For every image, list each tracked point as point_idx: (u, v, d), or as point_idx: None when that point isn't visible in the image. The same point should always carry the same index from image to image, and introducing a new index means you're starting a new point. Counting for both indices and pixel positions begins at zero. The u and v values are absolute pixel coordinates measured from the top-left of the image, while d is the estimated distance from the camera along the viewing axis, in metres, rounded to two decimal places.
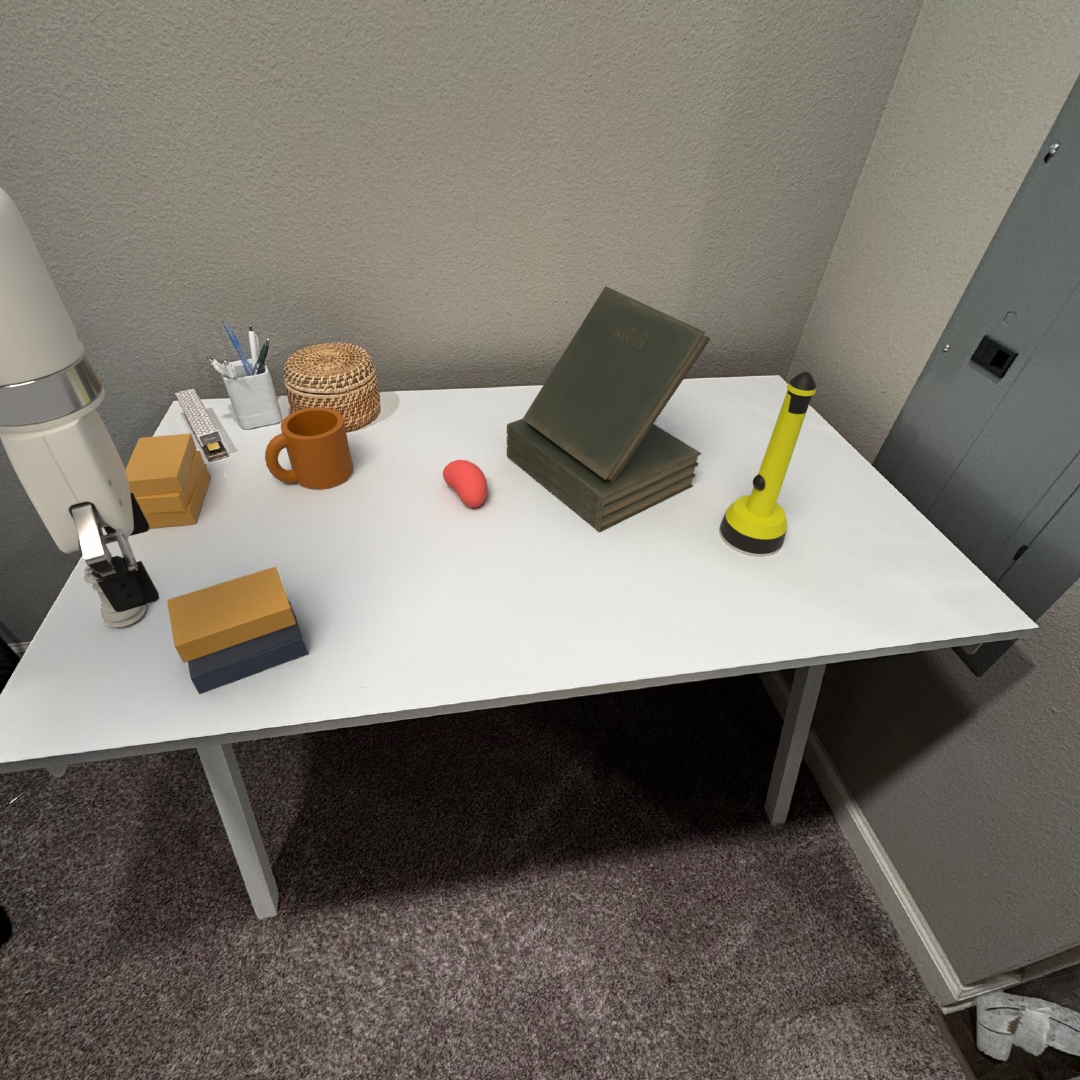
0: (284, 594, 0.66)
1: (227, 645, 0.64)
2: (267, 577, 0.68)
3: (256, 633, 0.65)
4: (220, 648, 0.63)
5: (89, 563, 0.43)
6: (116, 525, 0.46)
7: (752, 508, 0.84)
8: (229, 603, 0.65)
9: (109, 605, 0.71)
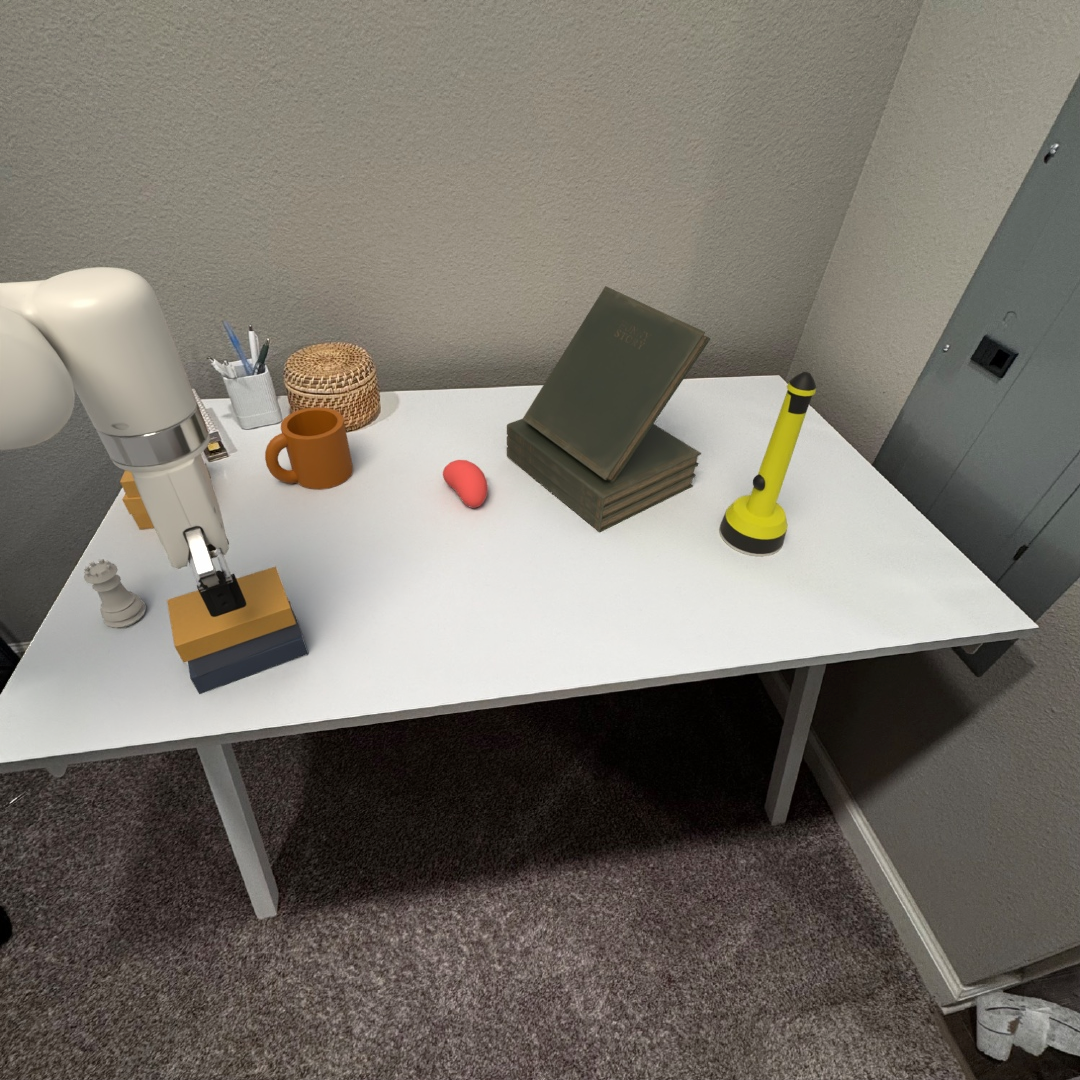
0: (284, 594, 0.66)
1: (227, 645, 0.64)
2: (267, 577, 0.68)
3: (256, 633, 0.65)
4: (220, 648, 0.63)
5: (202, 577, 0.52)
6: (218, 544, 0.55)
7: (752, 508, 0.84)
8: None
9: (109, 605, 0.71)
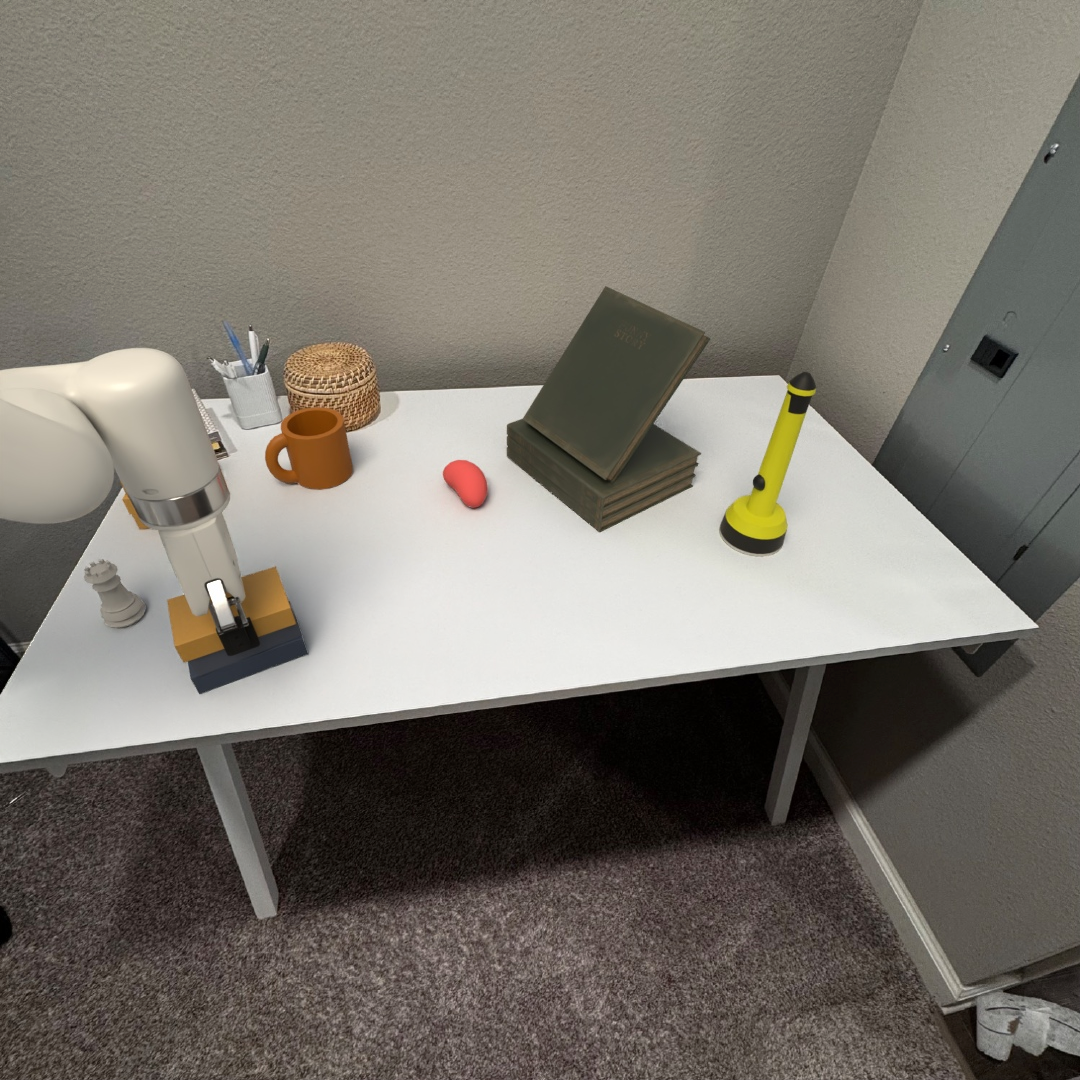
0: (284, 594, 0.66)
1: None
2: (267, 577, 0.68)
3: (256, 633, 0.65)
4: (220, 648, 0.63)
5: (224, 630, 0.57)
6: (236, 594, 0.59)
7: (752, 508, 0.84)
8: None
9: (109, 605, 0.71)
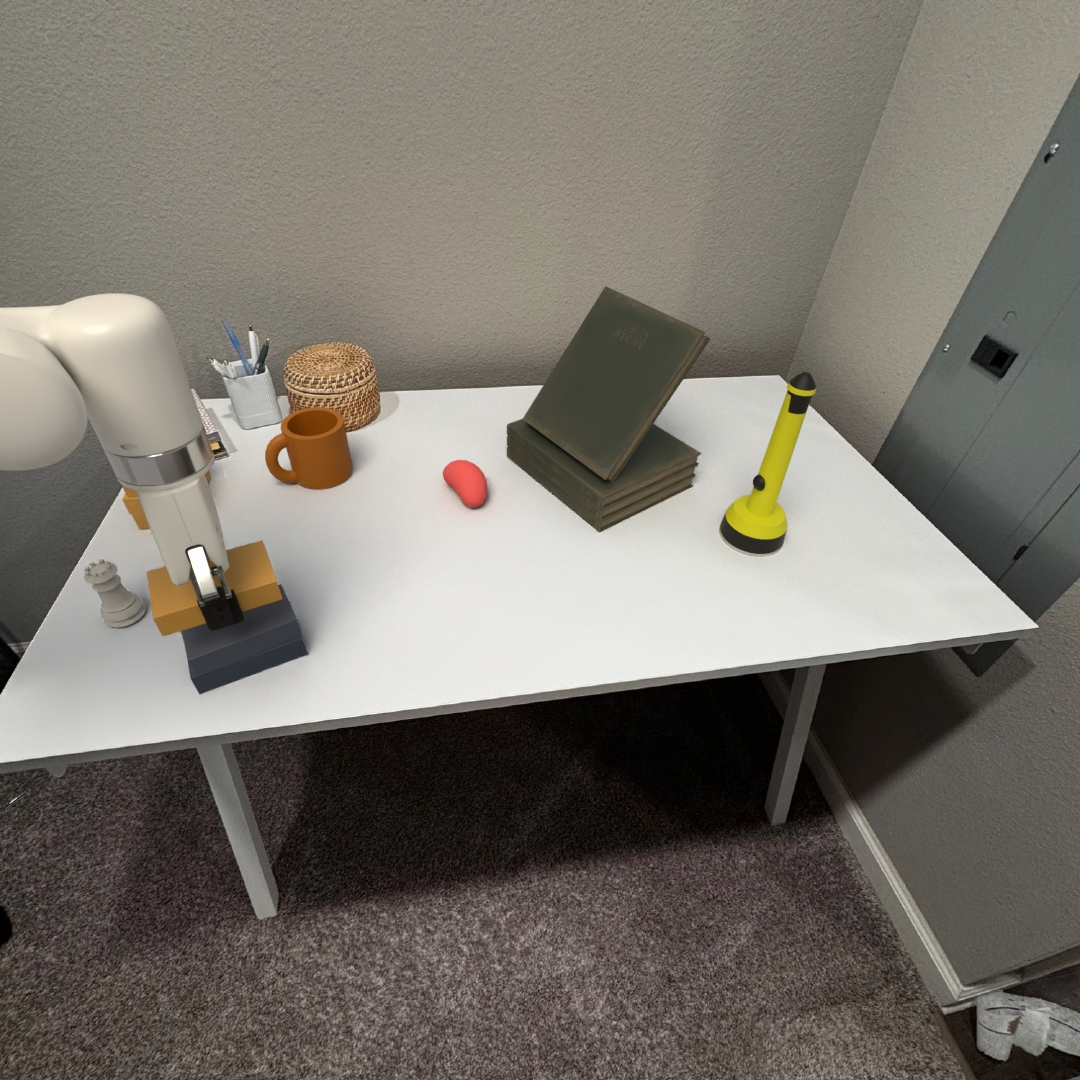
0: (270, 568, 0.63)
1: None
2: (253, 550, 0.65)
3: (240, 607, 0.61)
4: (202, 622, 0.60)
5: (205, 599, 0.54)
6: (219, 562, 0.56)
7: (752, 508, 0.84)
8: None
9: (109, 605, 0.71)
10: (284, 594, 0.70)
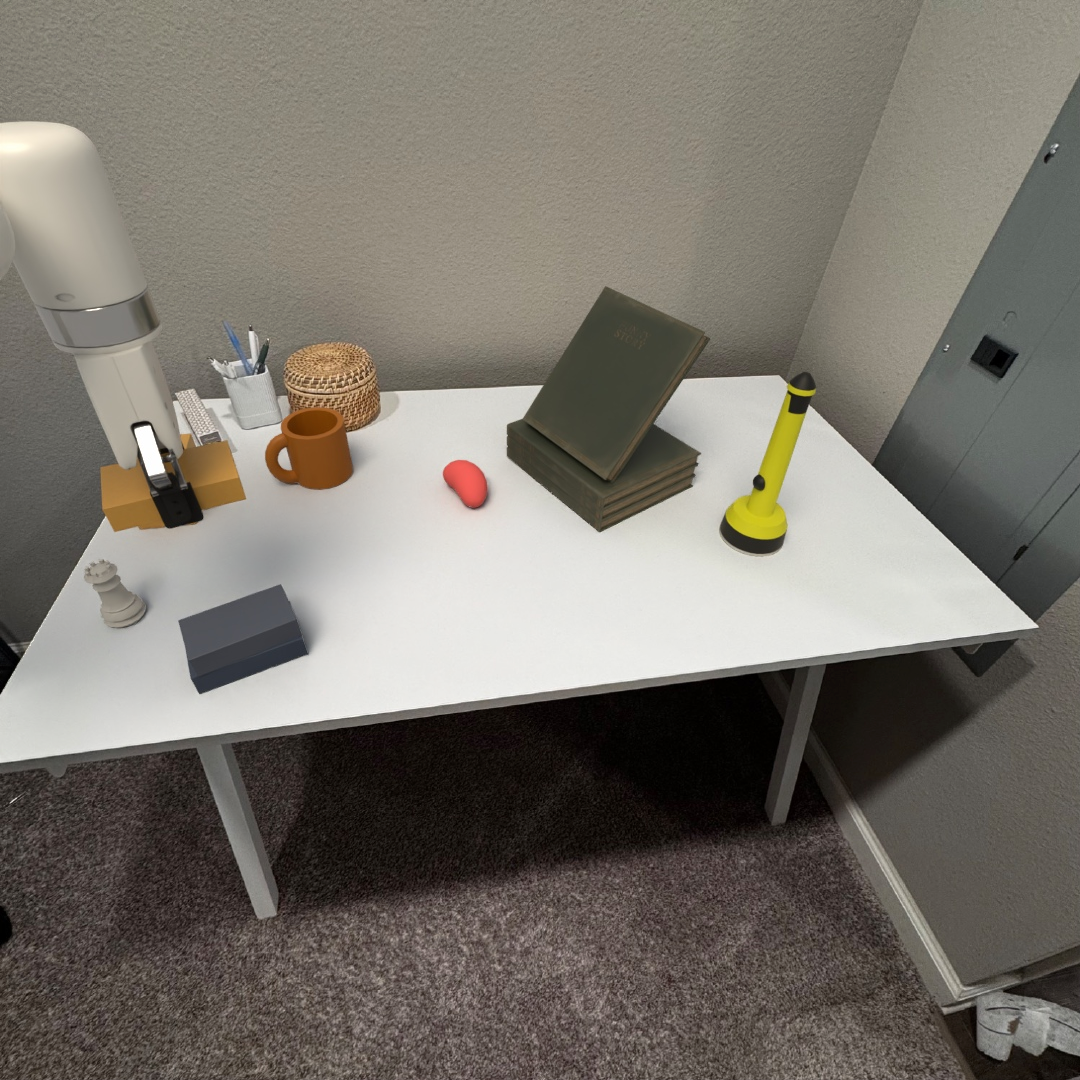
0: (233, 465, 0.59)
1: None
2: (216, 449, 0.61)
3: None
4: (157, 519, 0.56)
5: (153, 480, 0.49)
6: (169, 445, 0.51)
7: (752, 508, 0.84)
8: None
9: (109, 605, 0.71)
10: (284, 594, 0.70)
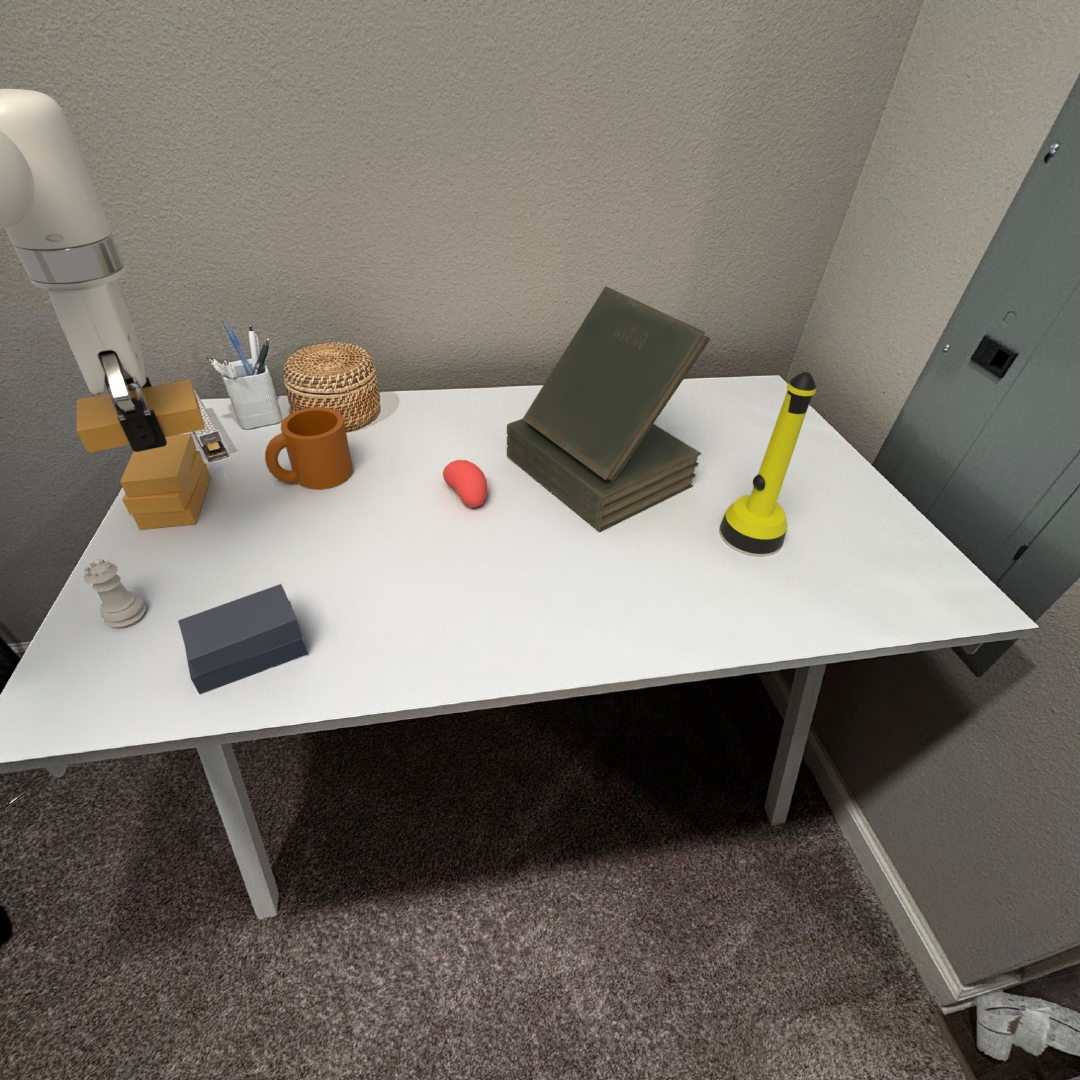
0: (193, 398, 0.67)
1: None
2: (179, 386, 0.69)
3: (163, 432, 0.65)
4: (126, 443, 0.64)
5: (117, 401, 0.57)
6: (133, 373, 0.59)
7: (752, 508, 0.84)
8: None
9: (109, 605, 0.71)
10: (284, 594, 0.70)
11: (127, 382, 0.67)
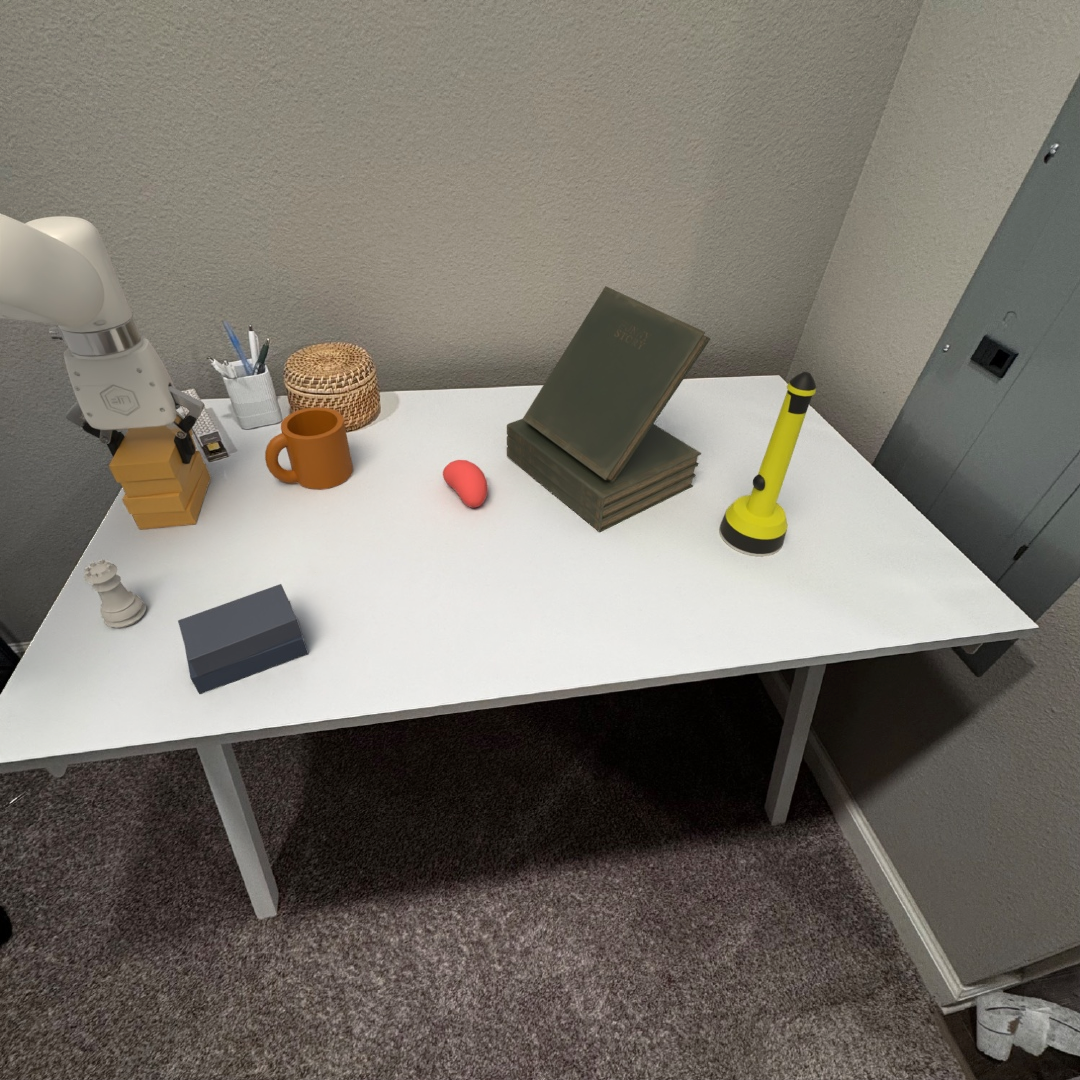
0: None
1: None
2: None
3: None
4: (180, 461, 0.84)
5: (202, 409, 0.81)
6: None
7: (752, 508, 0.84)
8: (150, 440, 0.83)
9: (109, 605, 0.71)
10: (284, 594, 0.70)
11: (116, 439, 0.82)
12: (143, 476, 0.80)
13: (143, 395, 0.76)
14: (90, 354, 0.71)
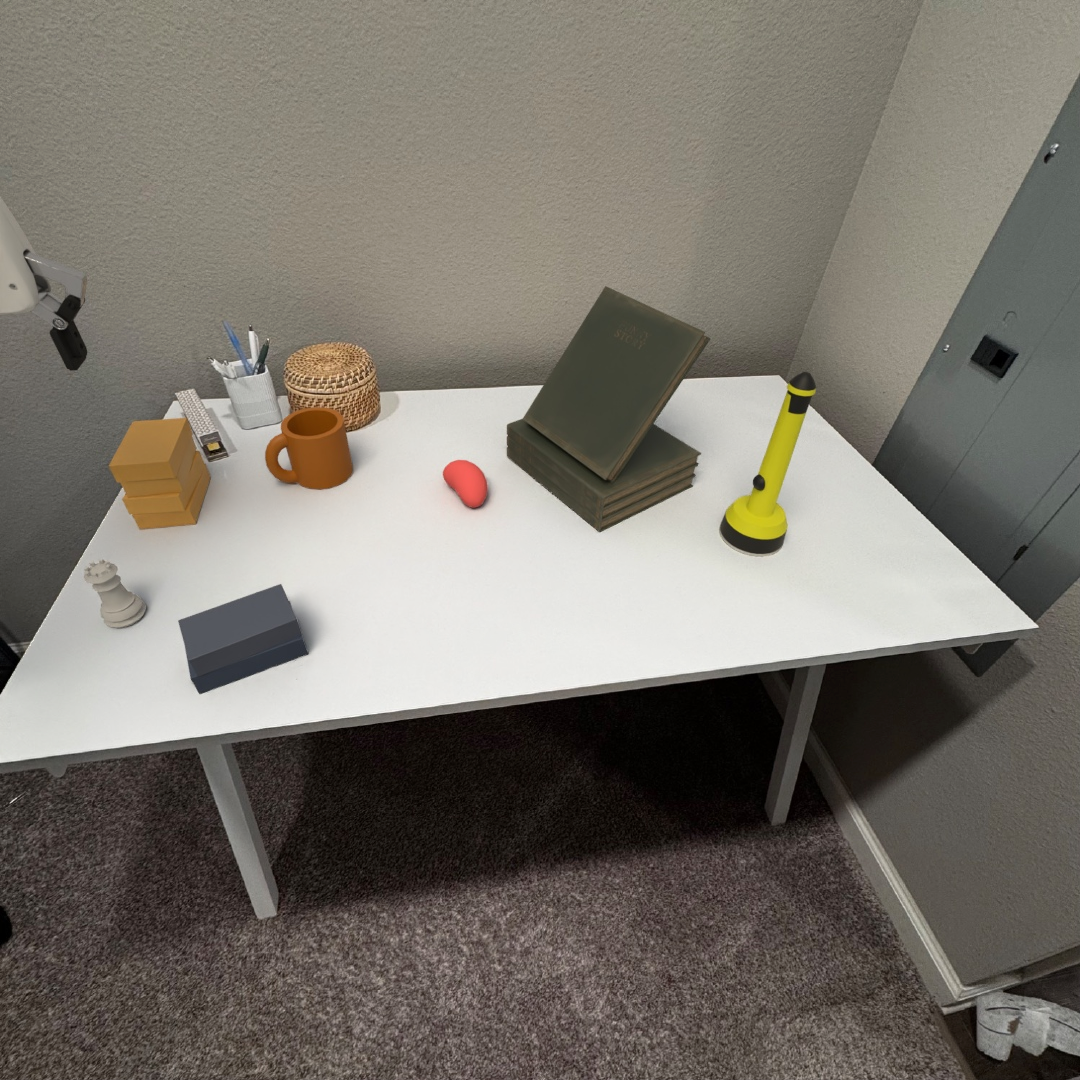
0: (170, 419, 0.87)
1: (181, 457, 0.84)
2: (141, 424, 0.86)
3: (185, 444, 0.86)
4: (180, 461, 0.84)
5: (82, 280, 0.56)
6: None
7: (752, 508, 0.84)
8: (150, 440, 0.83)
9: (109, 605, 0.71)
10: (284, 594, 0.70)
11: None
12: (143, 476, 0.80)
13: None
14: None
